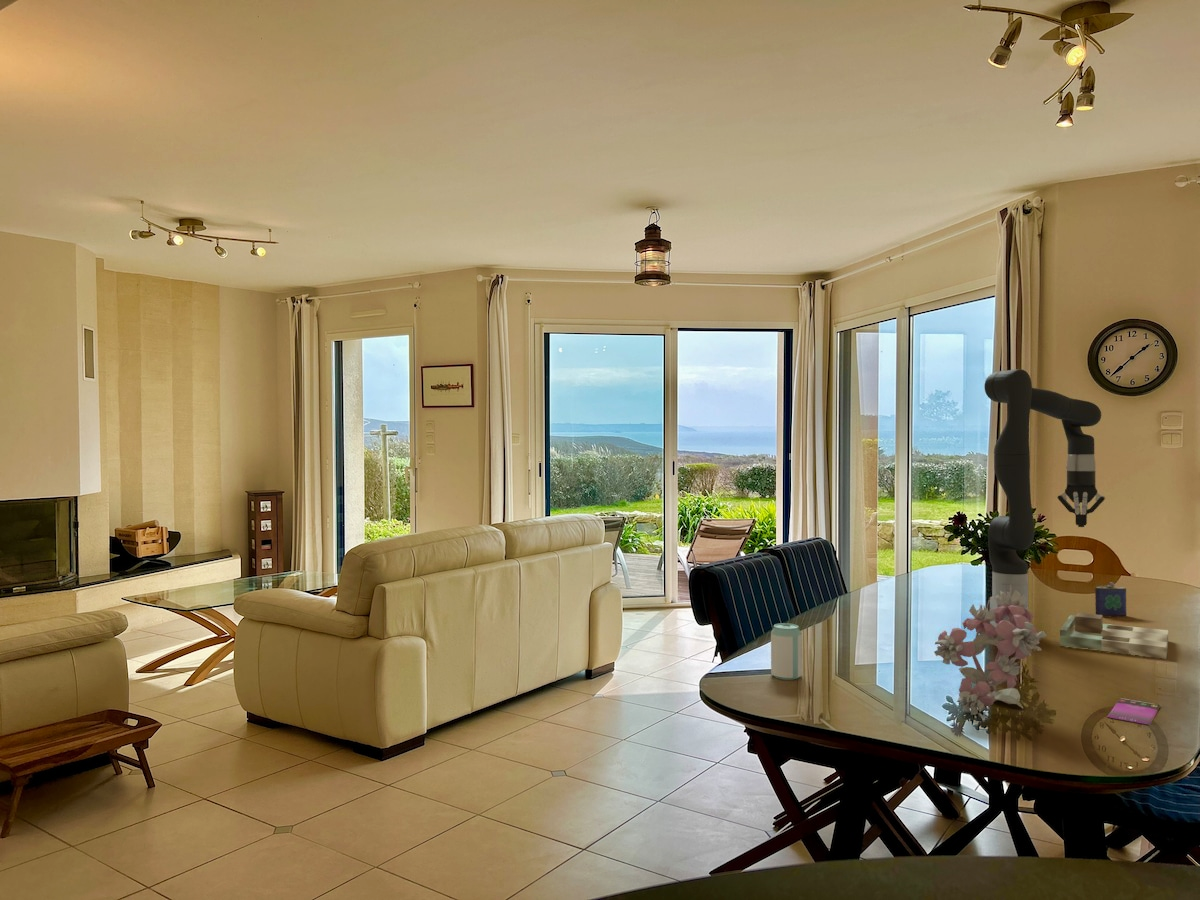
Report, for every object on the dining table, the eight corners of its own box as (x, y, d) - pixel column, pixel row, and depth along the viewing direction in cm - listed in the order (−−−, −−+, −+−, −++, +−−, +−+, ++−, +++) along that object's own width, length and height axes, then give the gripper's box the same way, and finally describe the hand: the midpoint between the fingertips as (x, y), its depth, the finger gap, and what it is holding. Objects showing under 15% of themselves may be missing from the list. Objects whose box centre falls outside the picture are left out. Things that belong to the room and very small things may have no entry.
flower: (906, 679, 188) (917, 589, 176) (1002, 667, 189) (1019, 576, 178) (949, 747, 170) (965, 651, 158) (1055, 733, 171) (1078, 636, 160)
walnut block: (1102, 629, 230) (1102, 615, 230) (1100, 633, 225) (1100, 618, 225) (1077, 626, 233) (1077, 612, 233) (1075, 630, 228) (1075, 616, 228)
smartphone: (1160, 708, 173) (1160, 704, 173) (1149, 727, 161) (1149, 722, 161) (1119, 701, 177) (1119, 697, 177) (1105, 719, 166) (1105, 715, 166)
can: (765, 674, 198) (765, 623, 198) (790, 671, 201) (790, 621, 201) (781, 682, 192) (781, 630, 192) (807, 678, 194) (807, 627, 194)
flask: (1123, 615, 263) (1123, 581, 263) (1129, 617, 260) (1129, 582, 260) (1093, 615, 264) (1093, 581, 263) (1098, 617, 261) (1098, 582, 261)
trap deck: (1168, 641, 229) (1168, 624, 228) (1166, 659, 210) (1166, 641, 210) (1070, 630, 242) (1070, 615, 242) (1060, 646, 223) (1060, 629, 223)
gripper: (1107, 469, 251) (1107, 527, 251) (1057, 468, 259) (1057, 524, 259) (1105, 470, 245) (1105, 529, 245) (1054, 469, 253) (1054, 526, 253)
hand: (1081, 526), depth 252 cm, fingers closed
